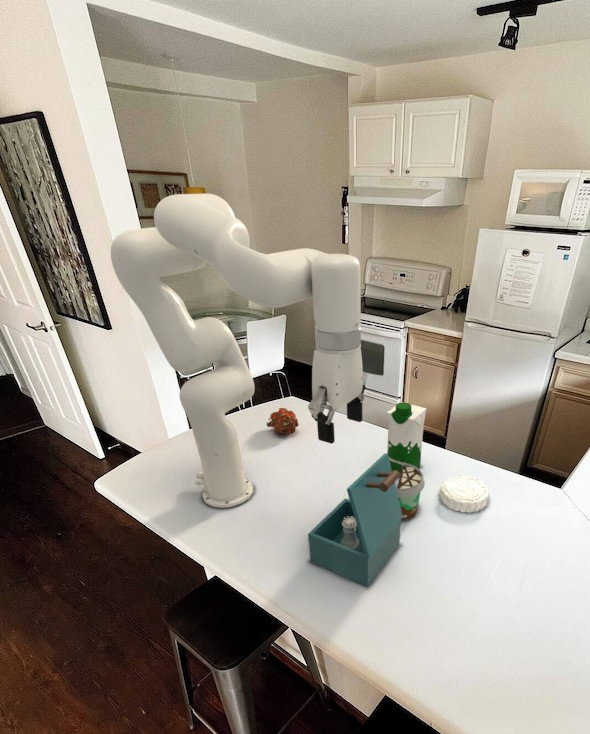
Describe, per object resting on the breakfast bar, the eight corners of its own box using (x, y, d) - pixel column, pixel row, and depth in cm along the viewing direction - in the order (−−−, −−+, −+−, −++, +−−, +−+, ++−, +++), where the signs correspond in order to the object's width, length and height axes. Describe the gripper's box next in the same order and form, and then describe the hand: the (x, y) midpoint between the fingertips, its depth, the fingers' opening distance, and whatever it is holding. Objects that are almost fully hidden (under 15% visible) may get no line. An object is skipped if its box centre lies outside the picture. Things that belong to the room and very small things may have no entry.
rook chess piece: (339, 541, 98) (338, 513, 94) (359, 540, 99) (359, 512, 94) (340, 555, 95) (339, 527, 90) (361, 554, 95) (360, 526, 90)
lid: (346, 489, 77) (372, 491, 74) (384, 453, 88) (408, 453, 85) (366, 556, 84) (390, 561, 81) (399, 516, 94) (422, 518, 91)
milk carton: (382, 471, 123) (383, 405, 112) (398, 457, 130) (401, 392, 118) (409, 480, 119) (414, 413, 108) (424, 465, 126) (430, 400, 114)
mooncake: (467, 519, 106) (469, 507, 104) (430, 497, 113) (431, 485, 111) (497, 500, 113) (499, 488, 110) (460, 479, 120) (461, 468, 118)
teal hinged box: (310, 561, 94) (307, 534, 90) (345, 524, 104) (345, 498, 100) (367, 587, 88) (367, 558, 84) (399, 545, 99) (401, 518, 94)
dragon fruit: (294, 444, 138) (274, 435, 147) (309, 422, 140) (289, 415, 148) (276, 429, 132) (257, 420, 141) (292, 406, 134) (272, 399, 142)
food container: (419, 527, 103) (422, 493, 98) (393, 524, 104) (394, 489, 99) (424, 497, 113) (427, 464, 108) (400, 494, 114) (402, 461, 109)
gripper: (346, 323, 81) (348, 408, 91) (287, 349, 69) (296, 445, 78) (382, 329, 78) (380, 417, 88) (327, 357, 66) (332, 456, 75)
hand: (341, 430), depth 83 cm, fingers open, 9 cm apart
